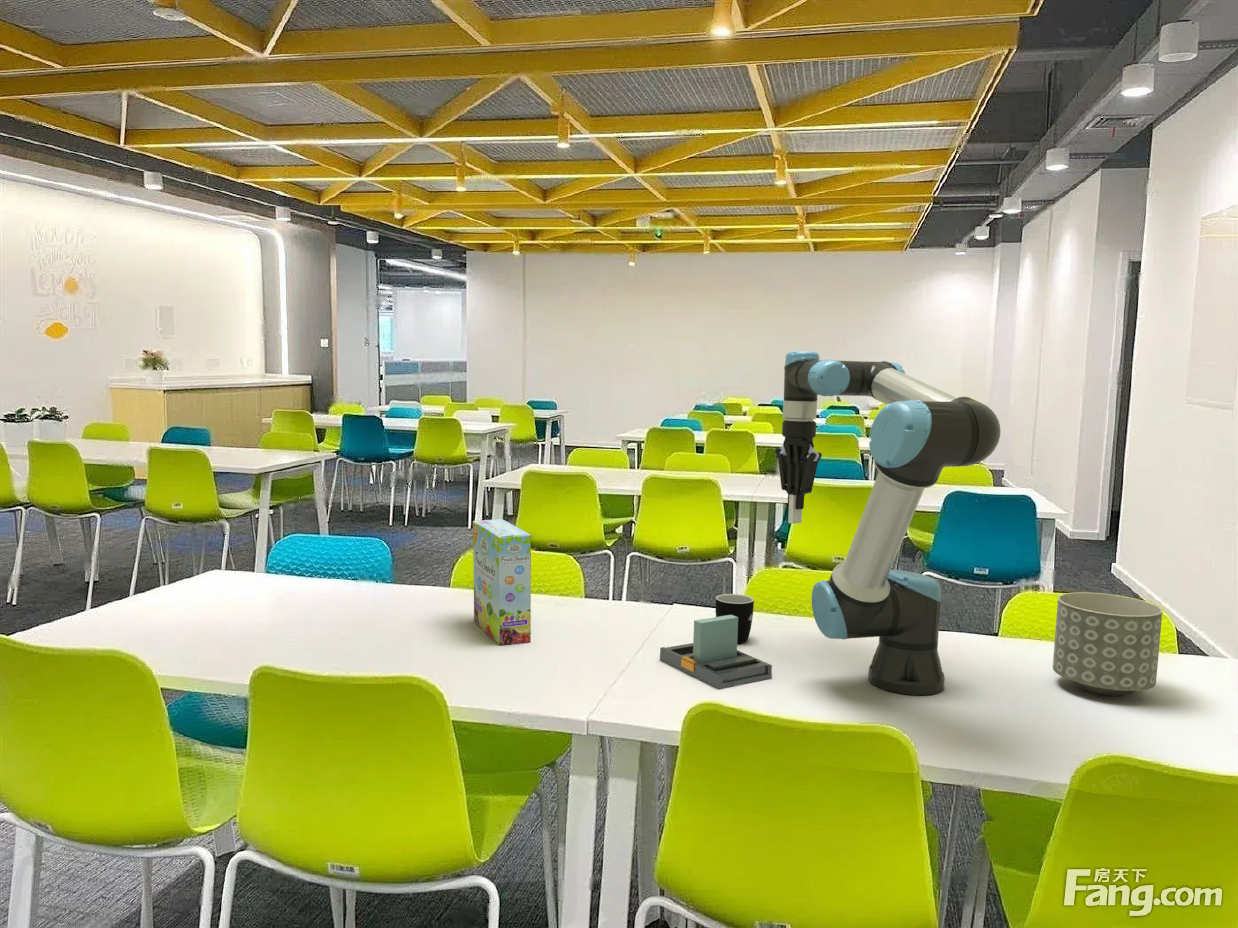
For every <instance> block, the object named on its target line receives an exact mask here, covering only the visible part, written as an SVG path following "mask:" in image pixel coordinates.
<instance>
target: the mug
mask: <svg viewBox="0 0 1238 928" xmlns="http://www.w3.org/2000/svg"><path fill="white" fill-rule="evenodd" d="M754 600H755V599H754V598H753V597H751V596H749V595H745V594H738V593H725V594H723V593H722V594H719V595H717V596H716V597H715V617H720V616H726V615H733V616H736V617H738V637H737V645H741V644H745V643H746V642H748V639H749V636H750V634H751V630H752V623H753V616H754V609H755V608H754V605H755V603H754V602H755V601H754Z"/></svg>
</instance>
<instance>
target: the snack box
mask: <svg viewBox="0 0 1238 928" xmlns="http://www.w3.org/2000/svg"><path fill="white" fill-rule="evenodd" d="M472 544H473V545H472V547H473V549H472V551H473V552H472V553H473V622H475V623H476V624H477V625H478V626H479V627H480V628H481V629H482V630H483V631H484V632H485V633H486V634H487V635H488V636H489V637H490V638H491V639H492V640H494V642H496V644H497V645H498V646H507V645H509V646H510V645H516V644H524V643H532V641H531V640H532V639H531V637H532V636H531V634H532V633H531V632H532V630H531V629H532V628H531V627H532V626H531V621H532V620H531V619H532V617H531V613H532V610H531V609H532V608H531V606H532V605H531V603H532V601H531V598H532V594H531V591H532V589H531V587H532V586H531V583H532V582H531V580H532V578H531V577H532V575H531V571H532V569H531V568H532V567H531V566H532V565H531V564H532V561H531V560H532V558H531V557H532V556H531V555H532V554H531V553H532V548H531V547H532V534H530V533H528V532H526V531H525V530H523V529H521V528H520V527H517V526H516V525H514V524H512V523H511V522H509V521H506V520H504V519H503V518H498V519H497V518H496V519H484V520H482V519H481V520H473V521H472Z"/></svg>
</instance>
